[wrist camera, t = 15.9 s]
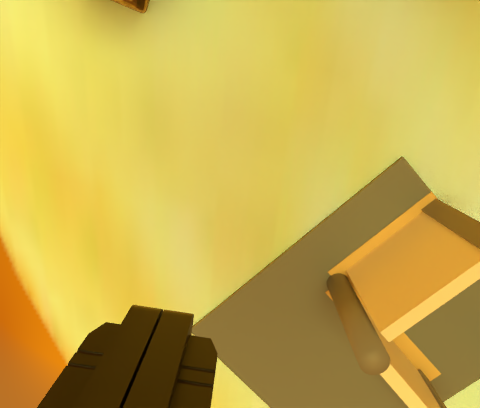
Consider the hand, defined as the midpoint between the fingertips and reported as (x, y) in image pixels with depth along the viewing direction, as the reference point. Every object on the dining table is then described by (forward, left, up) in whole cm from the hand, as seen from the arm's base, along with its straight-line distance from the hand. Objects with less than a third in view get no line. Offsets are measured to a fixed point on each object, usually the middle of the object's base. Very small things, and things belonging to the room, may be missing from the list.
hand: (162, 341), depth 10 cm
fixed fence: (-6, +18, -31) cm, 36 cm away
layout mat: (+2, +25, -31) cm, 40 cm away
